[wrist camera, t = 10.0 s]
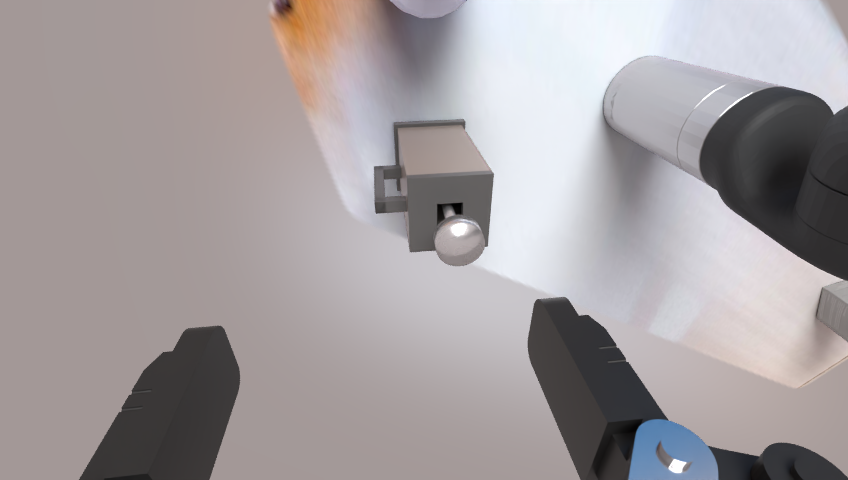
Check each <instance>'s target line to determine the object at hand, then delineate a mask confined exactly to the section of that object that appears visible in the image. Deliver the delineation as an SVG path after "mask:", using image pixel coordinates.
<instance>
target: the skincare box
mask: <svg viewBox="0 0 848 480" xmlns="http://www.w3.org/2000/svg"><path fill="white" fill-rule="evenodd" d="M817 319H819V320H820V321H821V322H823V323H824V324H825V325H826V326H828V327H829V328H830V329H832V330H833V331H834V332H836V333H837V334H838V335H839V336H841V337H842V338H843V339H845V340H846V341H847V342H848V281H846V280H845V281H842V282H838V283H835V284H831V285H828V286H825V287H823V290H822V294H821V299H820V303H819V308H818V313H817Z"/></svg>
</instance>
